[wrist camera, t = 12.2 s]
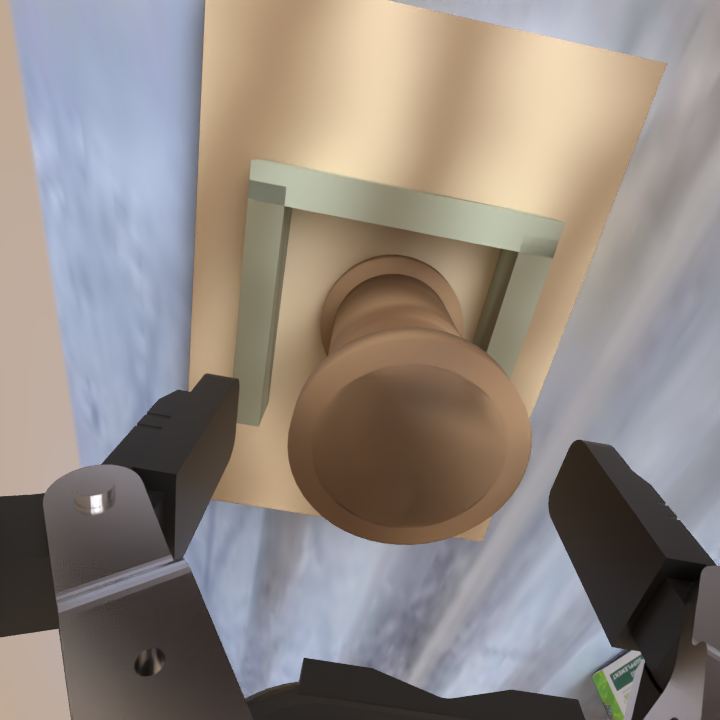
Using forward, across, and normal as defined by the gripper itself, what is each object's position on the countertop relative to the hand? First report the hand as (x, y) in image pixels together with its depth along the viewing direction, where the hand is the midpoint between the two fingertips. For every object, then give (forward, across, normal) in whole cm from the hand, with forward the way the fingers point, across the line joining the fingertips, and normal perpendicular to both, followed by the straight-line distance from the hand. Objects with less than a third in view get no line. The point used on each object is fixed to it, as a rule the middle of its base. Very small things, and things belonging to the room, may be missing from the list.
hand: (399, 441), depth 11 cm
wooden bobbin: (+9, 0, 0) cm, 9 cm away
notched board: (+10, 0, 0) cm, 10 cm away
